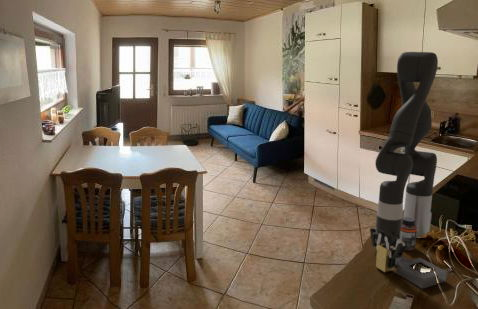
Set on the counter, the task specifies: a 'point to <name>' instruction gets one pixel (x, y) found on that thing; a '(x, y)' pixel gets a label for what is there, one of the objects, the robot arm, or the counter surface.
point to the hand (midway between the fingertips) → (385, 263)
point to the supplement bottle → (408, 233)
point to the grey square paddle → (415, 276)
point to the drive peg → (383, 258)
